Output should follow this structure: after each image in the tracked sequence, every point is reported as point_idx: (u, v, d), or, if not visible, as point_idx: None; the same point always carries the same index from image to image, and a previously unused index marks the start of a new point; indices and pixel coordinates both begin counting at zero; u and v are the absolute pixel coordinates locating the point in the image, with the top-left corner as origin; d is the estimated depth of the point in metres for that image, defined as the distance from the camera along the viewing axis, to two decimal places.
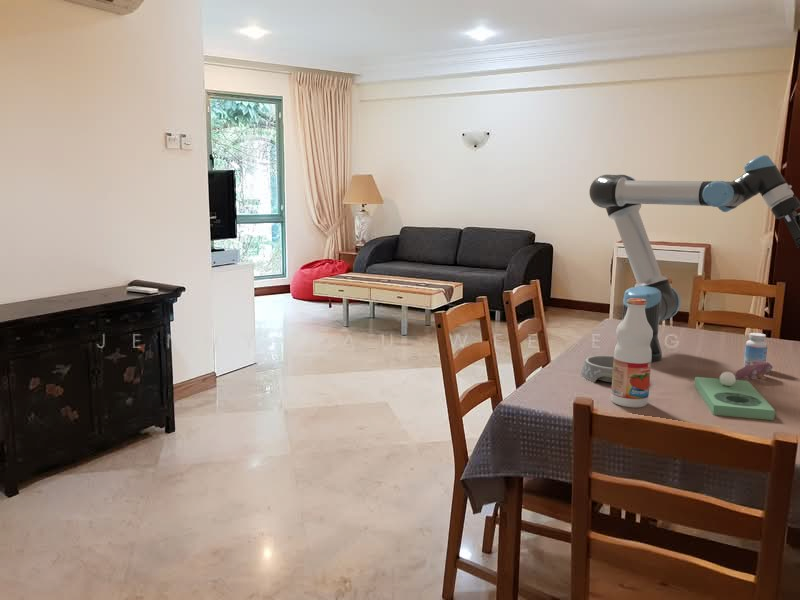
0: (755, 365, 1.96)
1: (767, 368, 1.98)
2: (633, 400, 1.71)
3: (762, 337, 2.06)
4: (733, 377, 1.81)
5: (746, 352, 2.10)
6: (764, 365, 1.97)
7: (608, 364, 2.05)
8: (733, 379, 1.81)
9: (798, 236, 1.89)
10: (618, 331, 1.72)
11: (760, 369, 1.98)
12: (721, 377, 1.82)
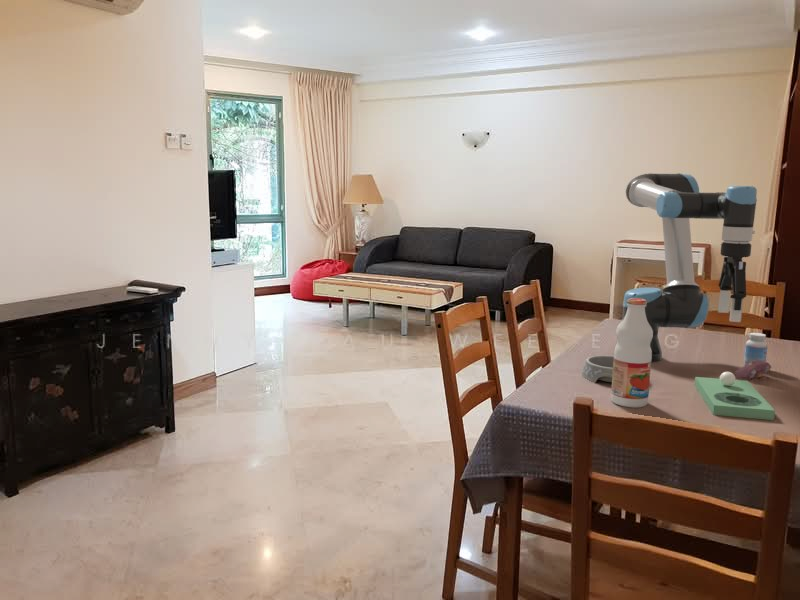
0: (754, 365, 1.96)
1: (766, 367, 1.98)
2: (633, 400, 1.71)
3: (762, 337, 2.06)
4: (733, 377, 1.81)
5: (746, 352, 2.10)
6: (763, 365, 1.97)
7: (609, 364, 2.05)
8: (733, 379, 1.81)
9: (742, 290, 1.76)
10: (618, 331, 1.72)
11: (759, 369, 1.98)
12: (721, 377, 1.82)
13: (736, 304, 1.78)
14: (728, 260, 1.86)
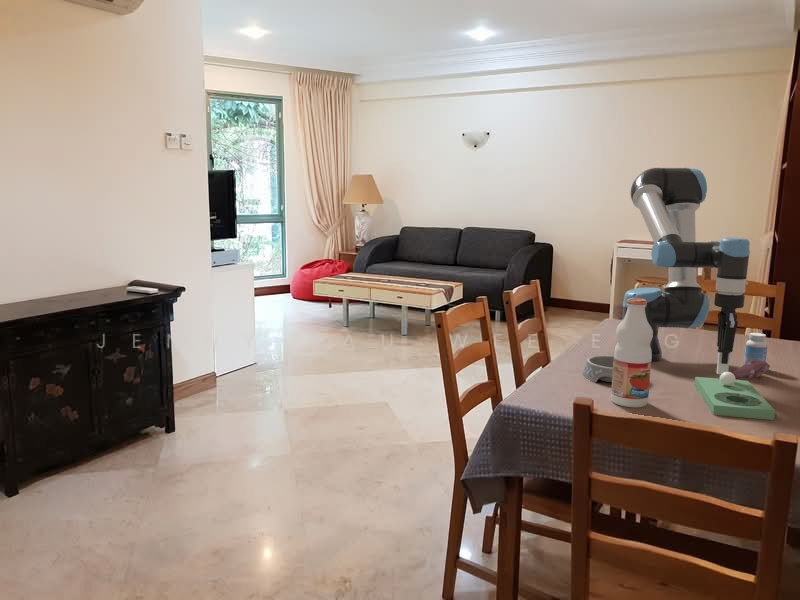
0: (753, 364, 1.97)
1: (764, 367, 1.99)
2: (633, 400, 1.71)
3: (762, 337, 2.06)
4: (733, 377, 1.81)
5: (746, 352, 2.10)
6: (762, 364, 1.98)
7: (610, 364, 2.05)
8: (733, 379, 1.81)
9: (729, 346, 1.84)
10: (618, 331, 1.72)
11: (758, 368, 1.98)
12: (721, 377, 1.82)
13: (723, 358, 1.87)
14: (722, 308, 1.89)
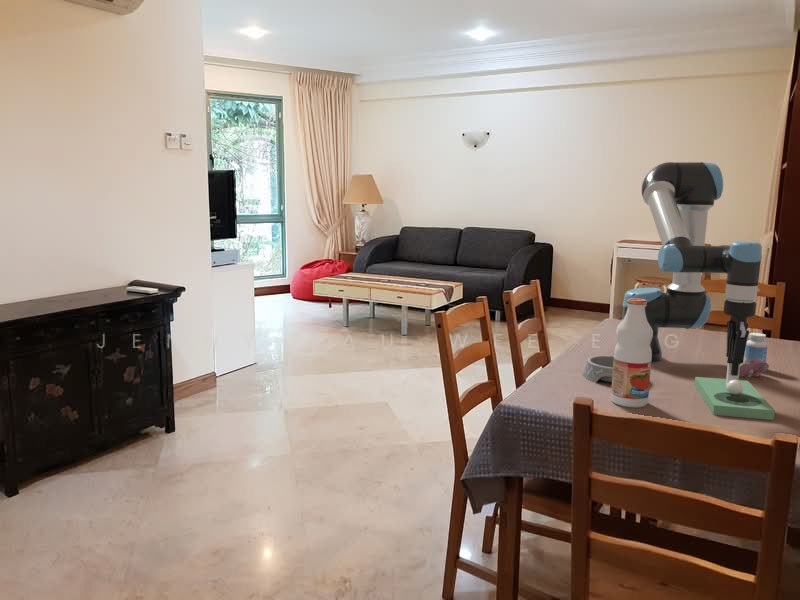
0: (752, 364, 1.97)
1: (763, 367, 1.99)
2: (633, 400, 1.71)
3: (762, 337, 2.06)
4: None
5: (746, 352, 2.10)
6: (760, 364, 1.98)
7: (610, 364, 2.05)
8: None
9: (739, 357, 1.73)
10: (618, 331, 1.72)
11: (757, 368, 1.99)
12: None
13: (733, 369, 1.76)
14: (731, 316, 1.78)
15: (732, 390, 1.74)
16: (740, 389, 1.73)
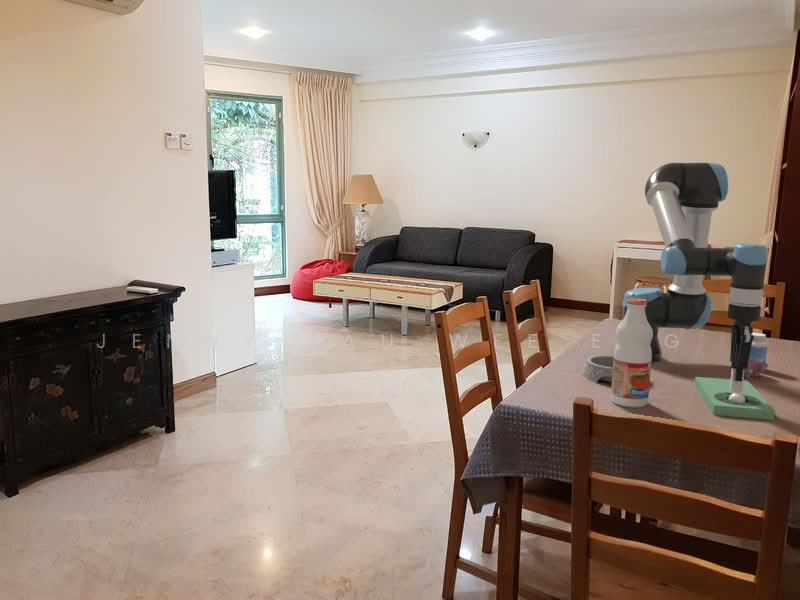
0: (751, 364, 1.97)
1: (762, 366, 1.99)
2: (633, 400, 1.71)
3: (762, 337, 2.06)
4: (742, 397, 1.71)
5: None
6: (760, 364, 1.98)
7: (610, 364, 2.04)
8: (743, 399, 1.71)
9: (743, 363, 1.68)
10: (618, 331, 1.72)
11: (756, 368, 1.99)
12: (730, 398, 1.72)
13: (737, 375, 1.71)
14: (736, 320, 1.73)
15: None
16: None
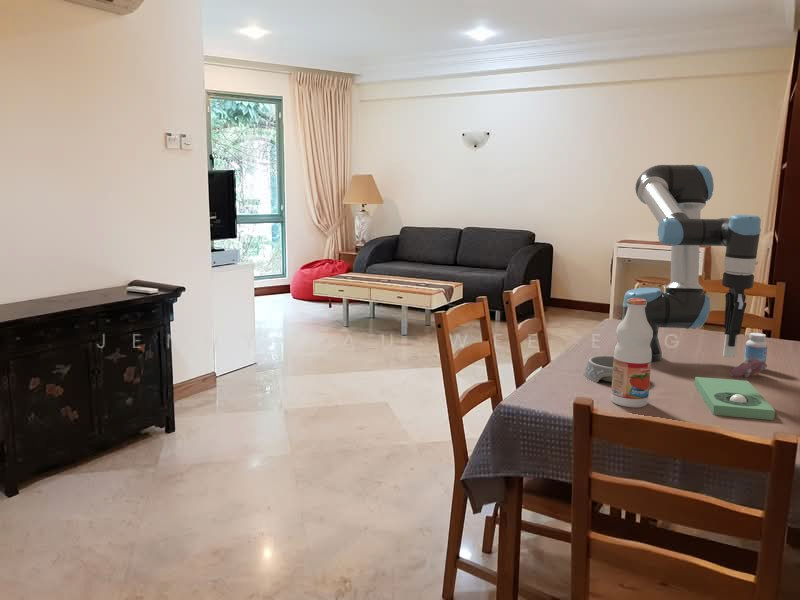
0: (750, 363, 1.97)
1: (761, 366, 2.00)
2: (633, 400, 1.71)
3: (762, 337, 2.06)
4: None
5: (746, 352, 2.10)
6: (759, 363, 1.99)
7: (611, 364, 2.04)
8: None
9: (736, 329, 1.77)
10: (618, 331, 1.72)
11: (755, 367, 1.99)
12: None
13: (730, 340, 1.80)
14: (730, 288, 1.81)
15: None
16: None
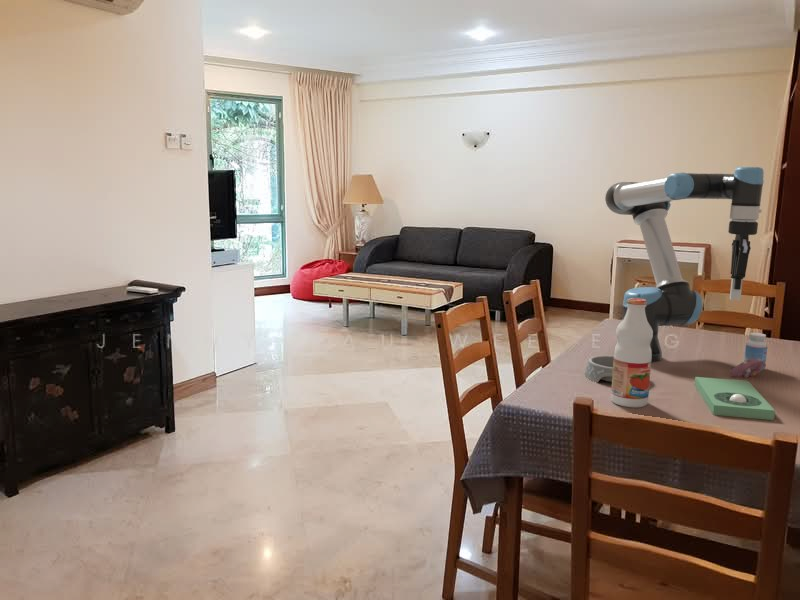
0: (749, 363, 1.98)
1: (760, 366, 2.00)
2: (633, 400, 1.71)
3: (762, 337, 2.06)
4: (744, 402, 1.69)
5: (746, 352, 2.10)
6: (758, 363, 1.99)
7: (612, 364, 2.04)
8: None
9: (741, 272, 1.91)
10: (618, 331, 1.72)
11: (754, 367, 2.00)
12: None
13: (736, 284, 1.94)
14: (736, 236, 1.96)
15: None
16: None
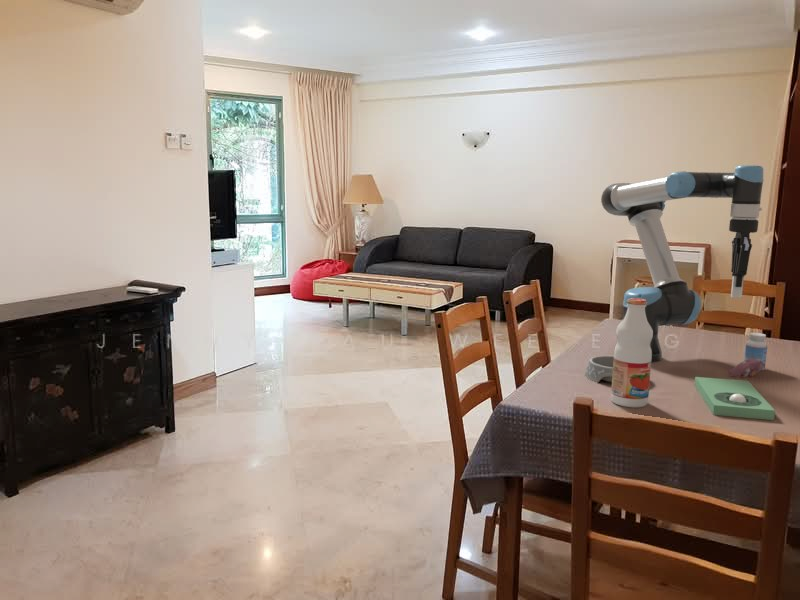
0: (748, 363, 1.98)
1: (759, 366, 2.00)
2: (633, 400, 1.71)
3: (762, 337, 2.06)
4: (743, 401, 1.70)
5: (746, 352, 2.10)
6: (757, 363, 1.99)
7: (612, 364, 2.04)
8: None
9: (743, 269, 1.93)
10: (618, 331, 1.72)
11: (753, 367, 2.00)
12: (730, 400, 1.71)
13: (737, 281, 1.96)
14: (736, 234, 1.98)
15: None
16: None
